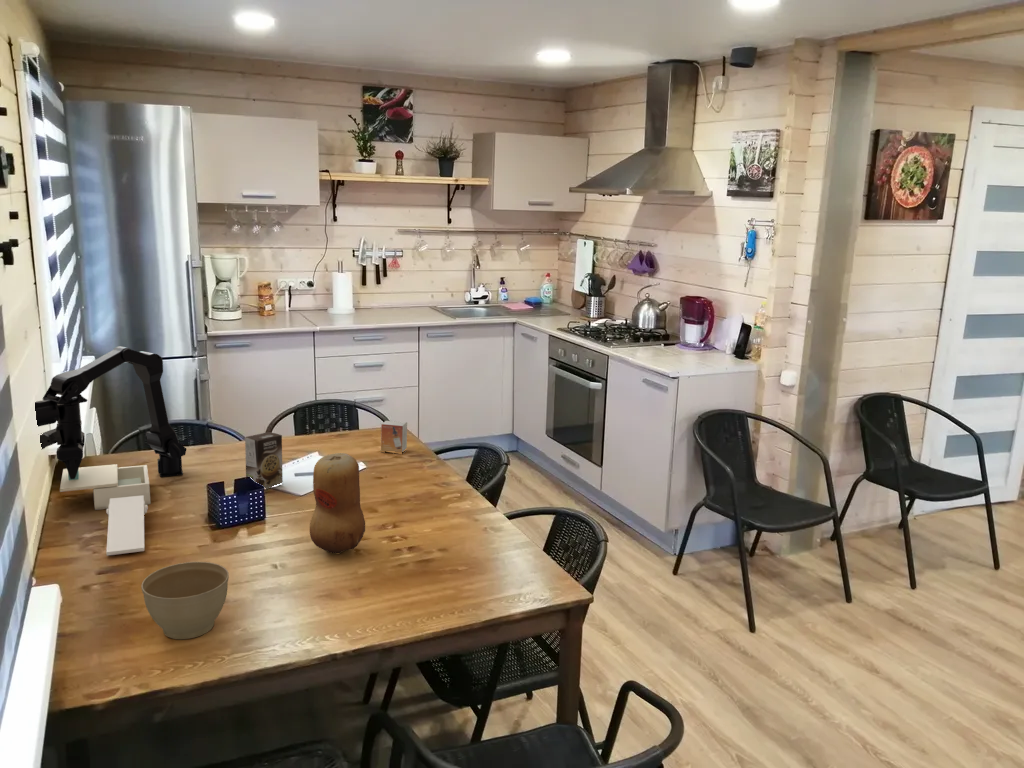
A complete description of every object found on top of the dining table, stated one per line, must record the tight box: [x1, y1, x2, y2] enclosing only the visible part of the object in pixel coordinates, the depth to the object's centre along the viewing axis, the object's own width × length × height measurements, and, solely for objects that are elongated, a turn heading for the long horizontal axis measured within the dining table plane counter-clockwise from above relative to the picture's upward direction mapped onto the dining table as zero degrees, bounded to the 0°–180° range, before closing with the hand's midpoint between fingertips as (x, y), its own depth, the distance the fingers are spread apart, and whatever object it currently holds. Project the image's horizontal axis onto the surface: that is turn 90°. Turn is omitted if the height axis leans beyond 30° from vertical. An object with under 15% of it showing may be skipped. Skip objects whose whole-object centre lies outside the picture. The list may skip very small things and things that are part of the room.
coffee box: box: [244, 431, 284, 490], centre depth 243 cm, size 9×6×16 cm
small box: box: [380, 420, 408, 452], centre depth 283 cm, size 8×6×10 cm
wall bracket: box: [105, 495, 149, 556], centre depth 206 cm, size 10×7×28 cm
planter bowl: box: [141, 561, 230, 640], centre depth 161 cm, size 16×16×11 cm
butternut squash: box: [309, 452, 366, 554], centre depth 198 cm, size 14×13×25 cm
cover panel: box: [59, 463, 118, 493], centre depth 226 cm, size 14×18×6 cm
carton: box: [93, 464, 151, 511], centre depth 231 cm, size 14×18×6 cm
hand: (73, 473), depth 225 cm, fingers open, 9 cm apart
